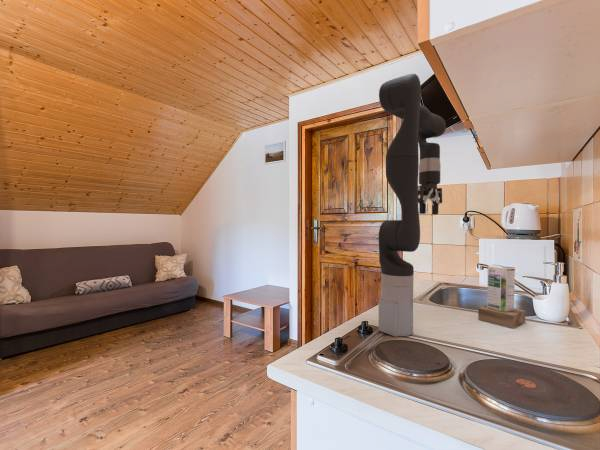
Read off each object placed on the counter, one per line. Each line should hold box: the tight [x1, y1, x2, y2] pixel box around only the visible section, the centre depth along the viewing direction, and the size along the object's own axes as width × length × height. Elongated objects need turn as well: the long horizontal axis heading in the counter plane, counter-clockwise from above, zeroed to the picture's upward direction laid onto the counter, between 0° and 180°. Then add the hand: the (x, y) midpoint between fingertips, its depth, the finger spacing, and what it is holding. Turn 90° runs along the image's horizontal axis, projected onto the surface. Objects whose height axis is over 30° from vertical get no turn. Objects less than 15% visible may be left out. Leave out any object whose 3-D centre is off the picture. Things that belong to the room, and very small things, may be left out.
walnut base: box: [477, 304, 526, 329], centre depth 97 cm, size 10×10×4 cm
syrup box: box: [486, 264, 516, 312], centre depth 97 cm, size 6×6×14 cm
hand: (429, 214), depth 111 cm, fingers open, 8 cm apart
